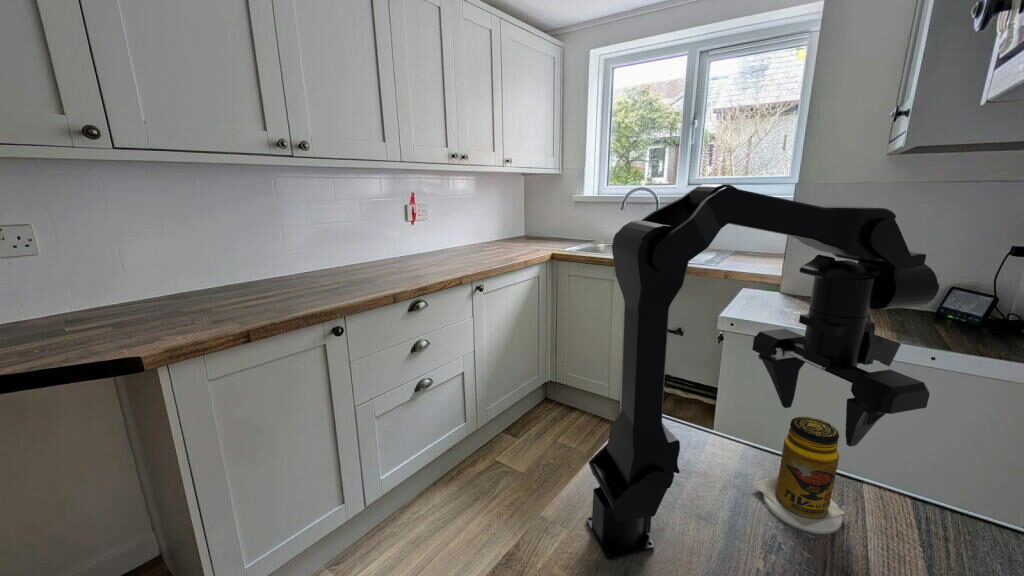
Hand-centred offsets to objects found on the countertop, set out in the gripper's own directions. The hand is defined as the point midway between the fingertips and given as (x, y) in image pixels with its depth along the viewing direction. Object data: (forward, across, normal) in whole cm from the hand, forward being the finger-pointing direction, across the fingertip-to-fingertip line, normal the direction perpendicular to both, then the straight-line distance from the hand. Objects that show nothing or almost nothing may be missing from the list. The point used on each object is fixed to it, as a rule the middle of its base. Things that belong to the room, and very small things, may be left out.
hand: (816, 424), depth 56 cm
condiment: (+12, +1, 0) cm, 12 cm away
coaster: (+13, 0, 0) cm, 13 cm away
